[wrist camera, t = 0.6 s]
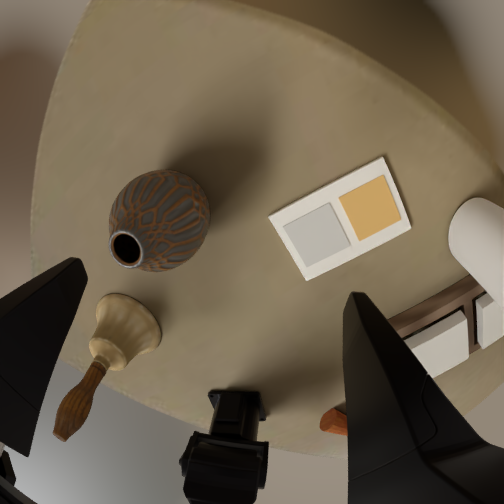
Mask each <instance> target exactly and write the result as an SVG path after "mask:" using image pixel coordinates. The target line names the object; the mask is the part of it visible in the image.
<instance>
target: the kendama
mask: <svg viewBox="0 0 504 504" xmlns="http://www.w3.org/2000/svg"><path fill="white" fill-rule="evenodd" d="M320 429H321V430H322V431H326V432H331V433H336V434H341V435H346V436H348V435H347V416H346V415H344V414H343V413H341V412H339V411H337V410H336V409H333V408H332V409H330V410H329V411H328V412H326V413H325V414H324V415H323V416H322V418H321V421H320Z"/></svg>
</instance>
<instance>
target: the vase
mask: <svg viewBox="0 0 504 504" xmlns="http://www.w3.org/2000/svg"><path fill="white" fill-rule="evenodd" d="M209 224H210V209H209V204H208V200H207V198H206V195H205V193H204V192H203V190H202V189H201V187H200V186H199V185H198V184H197V183H196V182H195V181H194V180H193V179H191V178H190V177H188V176H187V175H185V174H183V173H180V172H177V171H172V170H156V171H151V172H148V173H145V174H142V175H140V176H138V177H136V178H135V179H133V180H132V181H131V182H129V183H128V184H127V185H126V186H125V187H124V188H123V189H122V191H121V192H120V193H119V195H118V196H117V198H116V199H115V201H114V203H113V206H112V209H111V212H110V217H109V232H110V238H109V250H110V253H111V255H112V257H113V258H114V260H115V261H116V262H117V263H118V264H120V265H121V266H123V267H126V268H138V269H141V270H144V271H149V272H161V271H167V270H170V269H173V268H175V267H178V266H180V265H181V264H183V263H185V262H186V261H187V260H189V259H190V258H191V257H192V256H193V255H194V254H195V253H196V252H197V251H198V249H199V248H200V247H201V245H202V243H203V241H204V240H205V237H206V235H207V232H208V229H209Z"/></svg>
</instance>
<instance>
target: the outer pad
mask: <svg viewBox="0 0 504 504" xmlns="http://www.w3.org/2000/svg"><path fill="white" fill-rule="evenodd" d="M476 310H477V336H478V342H479V344H480V346H481V347H482V349H484V348H486V347H487V346H489V345H490V344H492V343H493V342H495V341H496V340H498V339H499V338H501V337H502V336H503V335H504V311H503V310H502V308H501V307H500V306H499V305H498V304H497V303H496V302H495V300H494V299H493V298H492V297H491V296H490V295H489V294H488V293H486V294H485V295H483V296H482V297H480V298H479V299H477V300H476Z"/></svg>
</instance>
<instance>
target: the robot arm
mask: <svg viewBox="0 0 504 504" xmlns="http://www.w3.org/2000/svg"><path fill="white" fill-rule="evenodd" d="M87 281H88V276H87V273H86V271H85V268H84V265H83V263H82V261H81V259H79V258H75V257H70V258H68V259H66V260H64V261H63V262H61V263H59V264H57V265H56V266H54V267H52V268H50V269H48V270H47V271H45V272H43V273H42V274H40V275H38V276H36V277H35V278H33V279H31V280H30V281H28V282H26V283H25V284H23V285H21V286H20V287H18V288H17V289H15V290H13V291H12V292H10V293H9V294H7V295H5V296H4V297H3V298H1V299H0V504H37V503H35V502H34V501H33V500H31V499H30V498H28V497H27V496H26V495H24V494H23V493H22V492H20V491H19V490H17V489H16V488H15V487H14V484H15V481H16V477H15V474H14V471H13V467H12V464H11V461H10V457H9V454H8V452H6V451H5V450H4V447H5V445H6V446H8V447H10V448H12V449H13V450H15V451H17V452H19V453H20V454H22V455H24V456H26V457H28V456H29V454H30V449H31V445H32V440H33V436H34V432H35V428H36V424H37V421H38V417H39V413H40V412H39V411H40V409H41V406H42V403H43V399H44V396H45V393H46V390H47V387H48V384H49V381H50V378H51V375H52V372H53V370H54V367H55V364H56V361H57V359H58V356H59V354H60V351H61V349H62V346H63V344H64V341H65V339H66V336H67V334H68V332H69V329H70V327H71V325H72V322H73V320H74V318H75V315H76V312H77V309H78V306H79V303H80V301H81V298H82V295H83V292H84V290H85V287H86V284H87ZM343 372H344V384H345V398H346V414H347V435H348V504H504V448H501V447H498V446H495V445H492V444H490V443H488V442H486V441H485V440H483V439H482V438H481V437H480V436H479V435H478V434H477V433H476V432H475V430H474V429H473V428H472V427H471V426H470V424H469V423H468V422H467V421H466V420H465V419H464V417H463V416H462V415H461V414H460V413H459V411H458V410H457V409H456V408H455V407H454V406H453V404H452V403H451V402H450V401H449V399H448V398H447V397H446V396H445V395H444V393H443V392H442V391H441V389H440V388H439V387H438V385H437V384H436V383H435V381H434V380H433V379H432V377H431V376H430V375H429V374H428V372H427V371H426V369H425V368H424V367H423V365H422V364H421V363H420V361H419V360H418V359H417V357H416V356H415V355H414V353H413V352H412V351H411V349H410V348H409V347H408V345H407V344H406V343H405V342H404V340H403V339H402V338H401V337H400V335H399V334H398V333H397V331H396V330H395V329H394V328H393V326H392V325H391V324H390V323H389V321H388V320H387V319H386V318H385V316H384V315H383V314H382V313H381V312H380V310H379V309H378V308H377V307H376V306H375V304H374V303H373V302H372V301H371V299H370V298H369V297H368V296H367V295H366V294H365V293H364V292H357V291H353V292H351V293H350V295H349V298H348V300H347V303H346V306H345V308H344V312H343ZM208 397H209V399H210V401H211V404H212V406H213V408H214V414H213V418H212V422H211V426H210V430H209V434H204V433H199V432H197V431H194V433H193V436H191V437H190V440H189V443H188V445H187V447H186V450H185V452H184V453H183V455H182V456H181V458H180V460H179V464H180V465H181V467H182V476H183V477H185V481H184V487H183V490H184V493H185V496H186V498H187V499H188V501H189V503H190V504H253V503H254V502H255V501H256V497H257V491H258V489H264V486H265V482H266V475H267V466H268V448H269V442H267V441H264V442H259V441H257V433H258V425H259V421H265V420H266V414H265V411H264V407H263V403H262V399H261V395H260V393H259V392H216V391H210V392H209V393H208Z"/></svg>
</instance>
